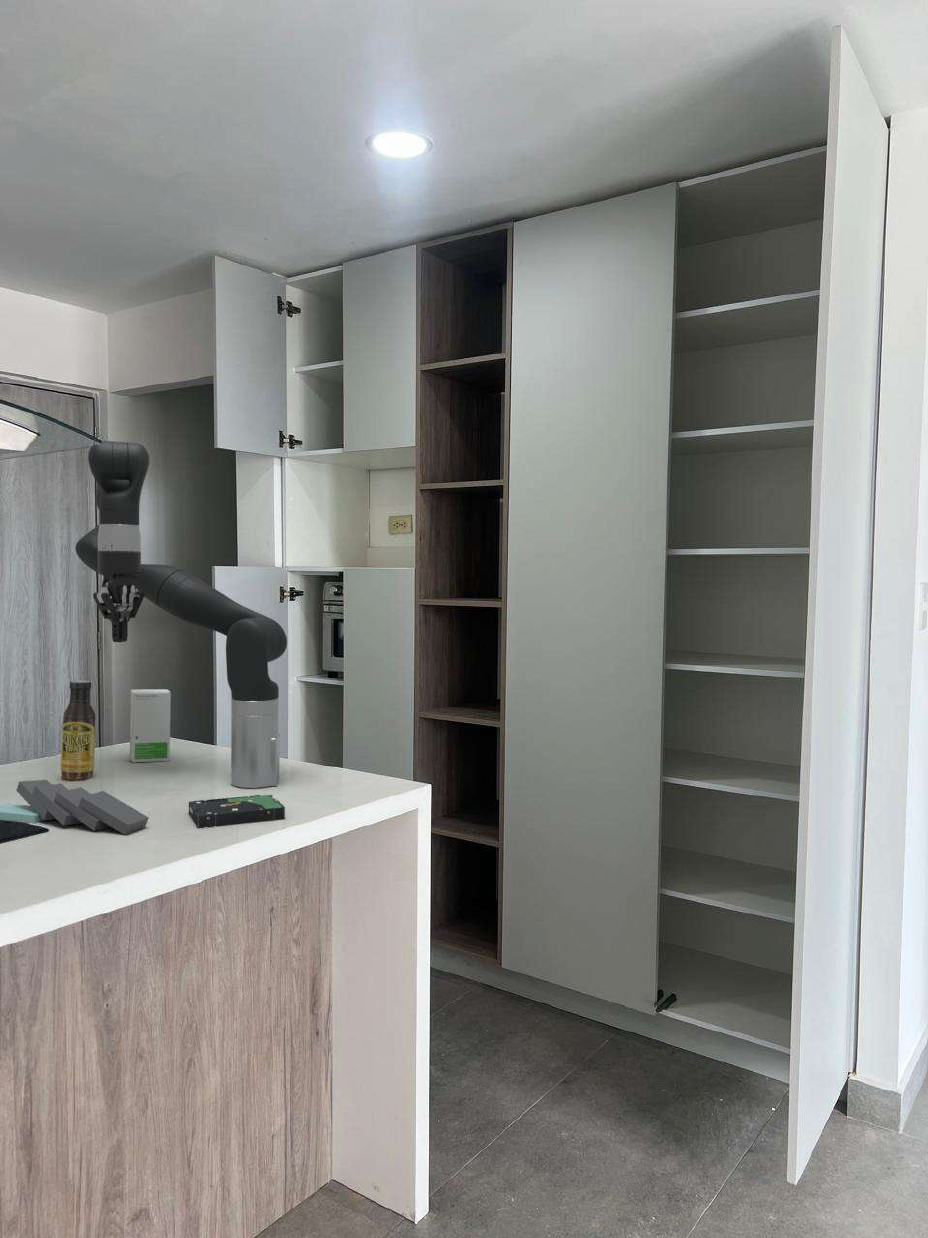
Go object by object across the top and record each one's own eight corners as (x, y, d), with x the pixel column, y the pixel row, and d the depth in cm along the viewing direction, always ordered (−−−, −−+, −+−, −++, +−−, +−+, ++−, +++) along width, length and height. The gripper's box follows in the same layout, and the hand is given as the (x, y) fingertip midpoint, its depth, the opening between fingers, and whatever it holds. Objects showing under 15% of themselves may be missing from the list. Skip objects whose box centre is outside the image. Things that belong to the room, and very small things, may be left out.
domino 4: (120, 815, 152) (81, 787, 156) (97, 821, 148) (56, 792, 152) (117, 824, 153) (78, 796, 156) (93, 830, 148) (53, 801, 152)
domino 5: (148, 817, 151) (103, 790, 154) (128, 825, 146) (81, 797, 149) (145, 827, 151) (100, 800, 154) (124, 835, 147) (78, 807, 150)
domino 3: (93, 812, 154) (62, 783, 159) (66, 815, 149) (35, 785, 154) (89, 822, 154) (58, 792, 159) (63, 825, 150) (32, 795, 155)
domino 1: (55, 808, 157) (7, 803, 160) (34, 815, 152) (-15, 810, 155) (55, 818, 157) (7, 813, 160) (34, 826, 153) (-15, 821, 155)
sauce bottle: (57, 782, 182) (56, 682, 181) (65, 774, 188) (64, 679, 187) (91, 781, 183) (91, 682, 182) (98, 774, 189) (98, 678, 188)
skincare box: (131, 763, 200) (131, 693, 199) (129, 757, 206) (128, 689, 205) (171, 760, 203) (171, 691, 202) (167, 755, 209) (167, 687, 208)
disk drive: (198, 832, 151) (286, 821, 158) (198, 816, 151) (286, 805, 157) (187, 816, 160) (271, 807, 167) (187, 801, 160) (270, 792, 167)
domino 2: (74, 808, 156) (46, 779, 162) (47, 810, 152) (19, 781, 158) (71, 817, 156) (43, 788, 162) (43, 820, 152) (16, 790, 158)
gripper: (115, 548, 163) (115, 645, 164) (157, 550, 176) (157, 640, 177) (79, 548, 165) (79, 643, 166) (123, 550, 178) (123, 638, 178)
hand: (119, 641), depth 171 cm, fingers closed
